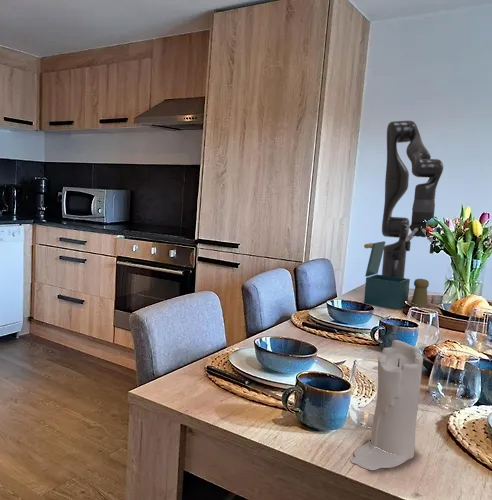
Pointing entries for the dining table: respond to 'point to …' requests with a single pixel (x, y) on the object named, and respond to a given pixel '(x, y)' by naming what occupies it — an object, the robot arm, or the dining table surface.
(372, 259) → the bin lid
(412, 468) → the dining table surface
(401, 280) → the bin
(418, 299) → the cork
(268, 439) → the dining table surface
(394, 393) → the candle
